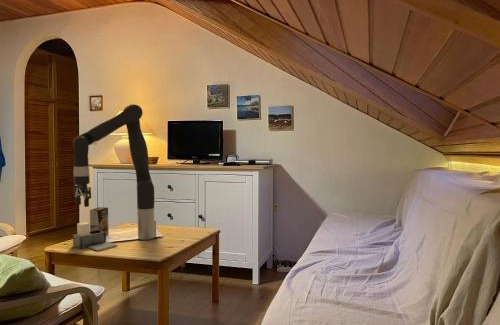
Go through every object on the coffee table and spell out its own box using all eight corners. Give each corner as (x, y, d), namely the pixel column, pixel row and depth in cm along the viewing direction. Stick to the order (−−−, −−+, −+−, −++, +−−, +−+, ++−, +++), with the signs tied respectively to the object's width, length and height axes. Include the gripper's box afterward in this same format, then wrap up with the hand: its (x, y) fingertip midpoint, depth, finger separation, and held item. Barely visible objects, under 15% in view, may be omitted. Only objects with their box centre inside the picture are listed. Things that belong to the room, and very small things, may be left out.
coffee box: (100, 238, 215) (99, 210, 214) (89, 237, 216) (89, 209, 215) (109, 234, 224) (108, 207, 223) (99, 233, 225) (98, 206, 224)
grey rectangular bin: (98, 240, 212) (97, 229, 211) (105, 242, 206) (105, 232, 206) (73, 246, 201) (72, 234, 200) (80, 249, 196) (80, 237, 195)
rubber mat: (108, 243, 206) (108, 241, 206) (117, 246, 200) (117, 244, 200) (88, 247, 197) (88, 246, 197) (97, 251, 192) (97, 249, 192)
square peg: (85, 244, 204) (85, 222, 203) (90, 245, 201) (89, 223, 201) (77, 246, 201) (77, 223, 200) (81, 247, 198) (81, 224, 197)
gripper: (95, 175, 197) (96, 206, 198) (81, 173, 206) (82, 203, 207) (81, 176, 191) (82, 208, 192) (67, 174, 200) (69, 205, 201)
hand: (82, 205), depth 200 cm, fingers open, 8 cm apart
